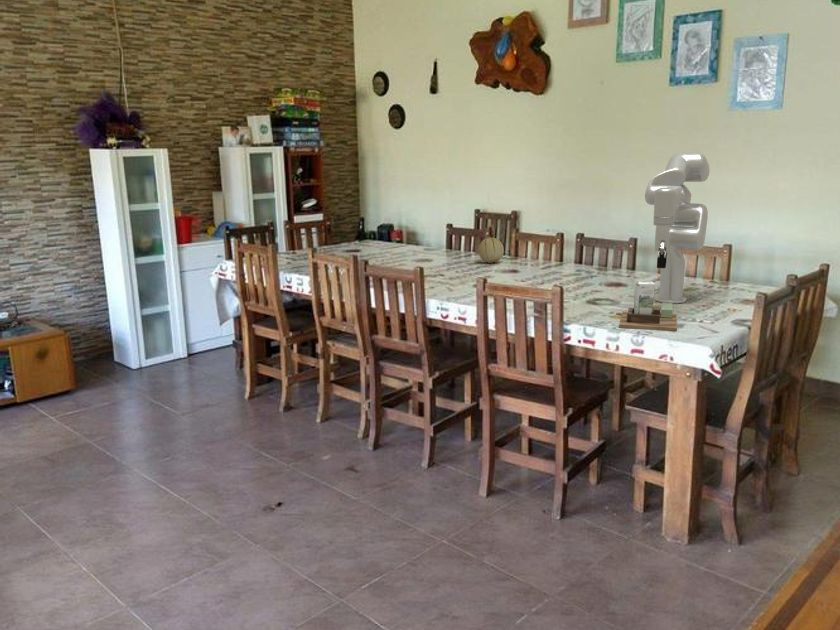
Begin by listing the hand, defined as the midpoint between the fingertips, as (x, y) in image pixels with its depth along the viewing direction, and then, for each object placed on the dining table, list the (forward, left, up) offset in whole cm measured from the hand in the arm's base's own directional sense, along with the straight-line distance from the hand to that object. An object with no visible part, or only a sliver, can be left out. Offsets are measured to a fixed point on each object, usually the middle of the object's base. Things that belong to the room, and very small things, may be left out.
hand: (661, 265), depth 280 cm
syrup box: (+13, -6, -19) cm, 24 cm away
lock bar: (+3, +3, -18) cm, 19 cm away
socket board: (+12, -4, -20) cm, 23 cm away
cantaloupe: (-111, -93, -20) cm, 146 cm away
